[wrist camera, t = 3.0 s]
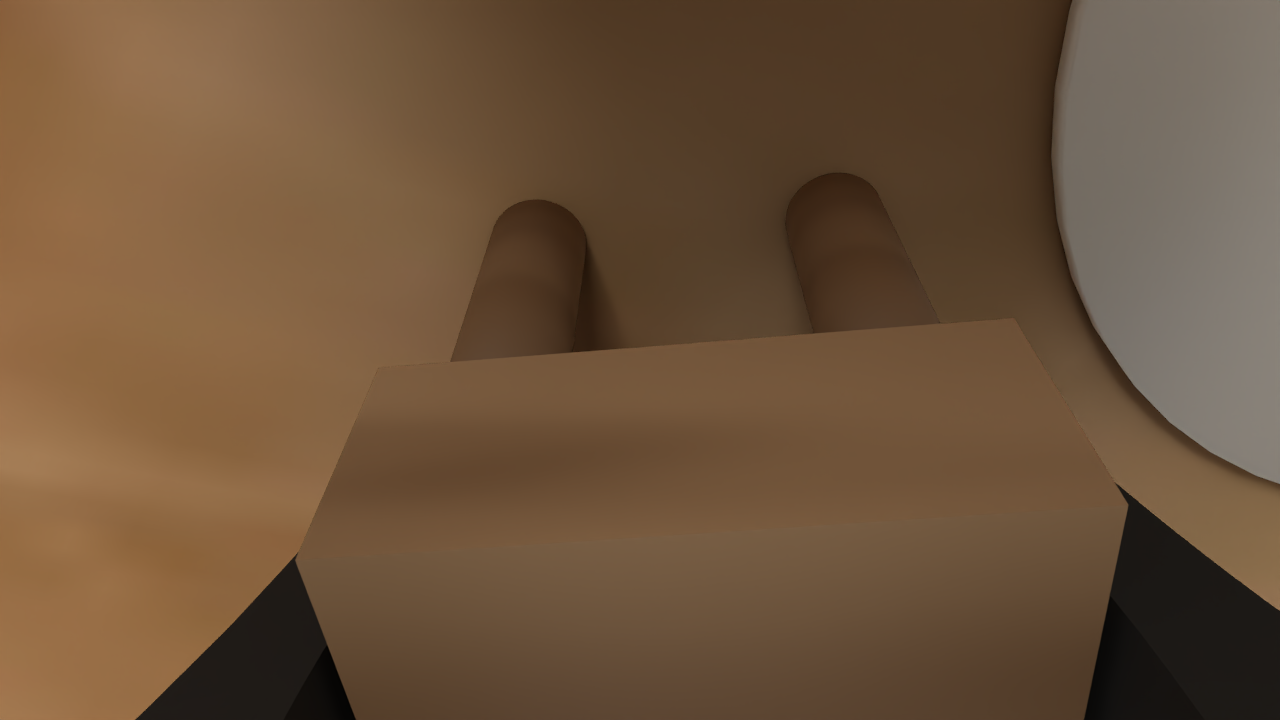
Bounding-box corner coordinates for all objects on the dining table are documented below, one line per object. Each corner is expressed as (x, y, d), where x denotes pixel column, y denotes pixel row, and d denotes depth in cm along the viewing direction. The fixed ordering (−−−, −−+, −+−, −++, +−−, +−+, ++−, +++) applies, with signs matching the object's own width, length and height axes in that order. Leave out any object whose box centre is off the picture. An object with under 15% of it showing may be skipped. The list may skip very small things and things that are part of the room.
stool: (892, 497, 14) (1034, 956, 8) (528, 522, 14) (454, 979, 9) (908, 144, 11) (1128, 505, 6) (457, 185, 11) (293, 561, 6)
